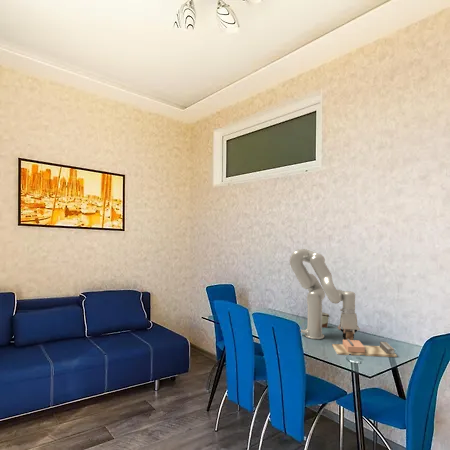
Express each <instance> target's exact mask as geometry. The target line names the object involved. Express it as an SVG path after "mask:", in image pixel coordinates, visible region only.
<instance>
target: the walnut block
mask: <svg viewBox="0 0 450 450" xmlns="http://www.w3.org/2000/svg"><path fill="white" fill-rule="evenodd" d="M345 334H346V340H347V339H349V340H354V339H353V332H352V331H351V330H349V329H346V331H345Z"/></svg>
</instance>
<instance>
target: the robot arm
mask: <svg viewBox="0 0 450 450" xmlns="http://www.w3.org/2000/svg"><path fill="white" fill-rule="evenodd" d="M325 261H326V259H325V256H323V254H321V253H319V252H315V251H311V250H309V249H306V248H300V249H296V250H295V251H293V252H292V253H291V256H290V258H289V265H290V268H291V270H292V271H293V273H294V275H295V277H296V279H297V280H298V282H299V284H300V286H301V288H303V289H305V290H307V291H308V293H307V295H306V303H307V304H306V305H307V325H306V326H307V327H306V329H300V330H301V332H300V333H302V334H304V336H305V338H308V339H312V340H322V339H324V338H325V335H324V333H323V328H322V312H323V300H324V298H325V296H327V299H328V301H330V302H331V303H332V304H335V305H336V304H339V303H341V302H342V308H340V309H339V311H340V312H341V313H340V319H339V324H338V325H337V327H336V328H337V329H338V330H339V331H340V332H341V333H342V338H343V340H346V334H345V331H346V329H349V330H351V331H352V332H353V340H354V339H355V334H356V333H357V332H358V331H360V329H361V328H360V327H359V325H358V316H357V313H356V294H355V292H354V291H350V290H346V291H345V290H341V289H337V288H336V286H335V284H334V281H333V276H332V272H331V271H330V269H329V268H328V266H327V265H326V262H325ZM303 262H305V263H308V264H310V265H311V267H312V269H313V270H314V272H315V274H316V275H315V274H312V273H310V272H308V269H307V268H306V265H304V264H303ZM316 276H317V277H316Z"/></svg>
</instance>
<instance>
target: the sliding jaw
mask: <svg viewBox="0 0 450 450" xmlns="http://www.w3.org/2000/svg"><path fill="white" fill-rule="evenodd" d="M342 344H343V346H344V347H345V349H346V350H347V351H348V352H364V353H365V346H364V345H365V344H363V343H362V342H361V340H358V339H357V340H356V339H355V340H354V339H353V340H349V339H347V340H344V339H342Z"/></svg>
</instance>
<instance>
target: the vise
mask: <svg viewBox="0 0 450 450" xmlns="http://www.w3.org/2000/svg"><path fill="white" fill-rule="evenodd" d="M331 345H332V348H333V350H334V351H335V353H336V354H337V355H341V356H342V355H343V356H360V355H365V356H366V357H387V358H397V357H398V355H397V354H396V352H395V348H393V346H391V344H389V343H388V341H380V342H379V345H365V344H363V345H364V346H365V353H364V352H348V351H347V350H346V349H345V347H344V346H343V343H332V344H331ZM349 354H351V355H349ZM365 356H364V357H365Z"/></svg>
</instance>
